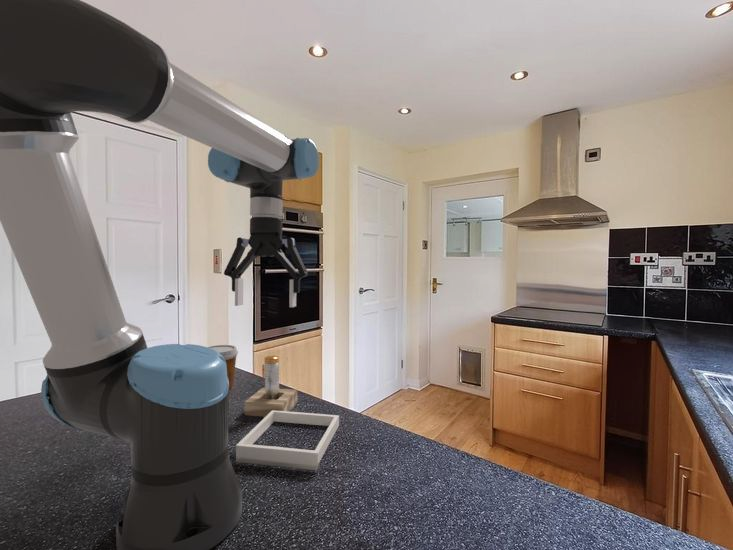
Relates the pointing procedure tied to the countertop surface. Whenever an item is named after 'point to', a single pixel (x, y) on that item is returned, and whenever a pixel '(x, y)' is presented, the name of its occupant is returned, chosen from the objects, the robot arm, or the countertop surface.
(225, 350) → the disposable coffee cup
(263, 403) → the socket block
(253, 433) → the rectangular frame
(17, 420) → the countertop surface
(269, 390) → the pin
